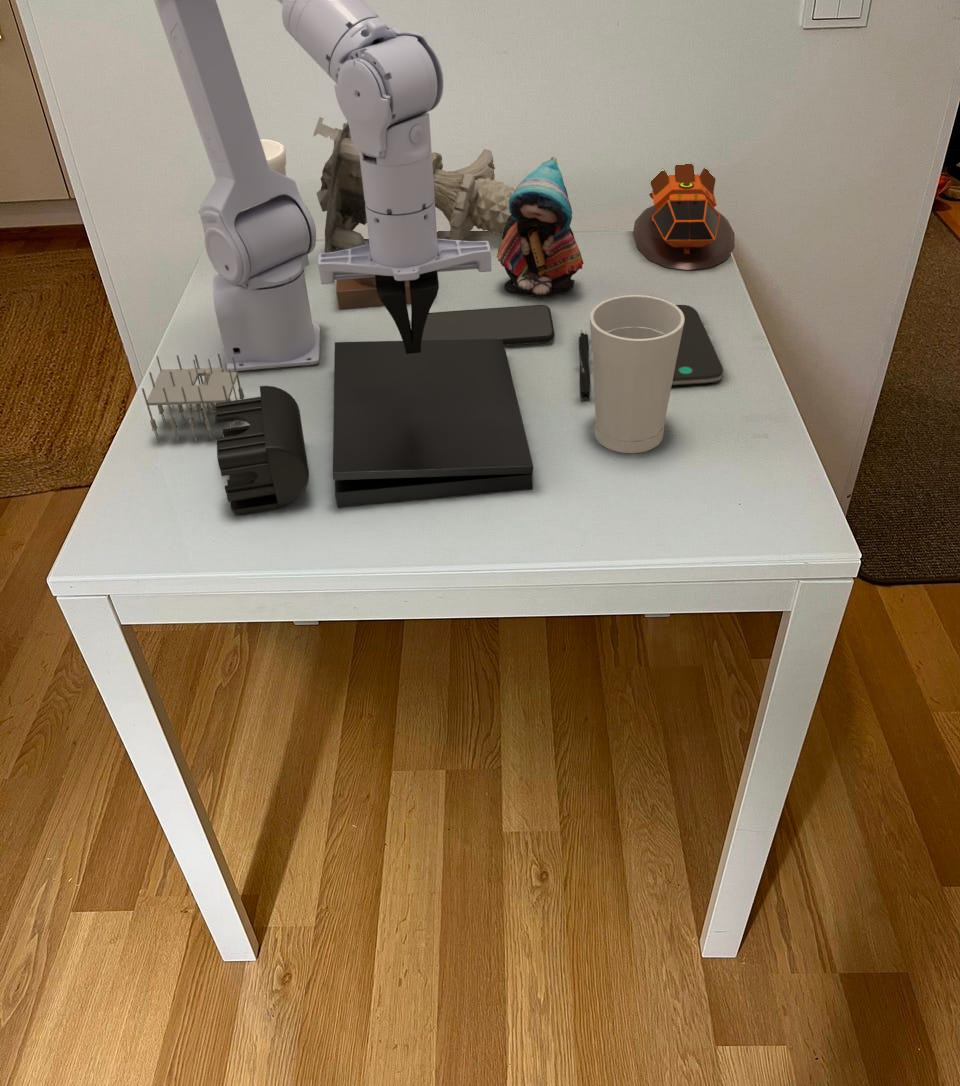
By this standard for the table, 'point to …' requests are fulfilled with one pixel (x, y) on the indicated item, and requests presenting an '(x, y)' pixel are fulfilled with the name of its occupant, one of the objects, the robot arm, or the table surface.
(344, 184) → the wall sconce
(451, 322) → the smartphone
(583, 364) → the black pen
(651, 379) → the cup
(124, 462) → the table surface
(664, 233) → the toy spacecraft
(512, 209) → the figurine
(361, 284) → the switch block
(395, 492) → the laptop
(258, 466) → the end cap
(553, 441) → the table surface
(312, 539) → the table surface
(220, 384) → the building frame
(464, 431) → the laptop screen
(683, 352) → the smartphone
